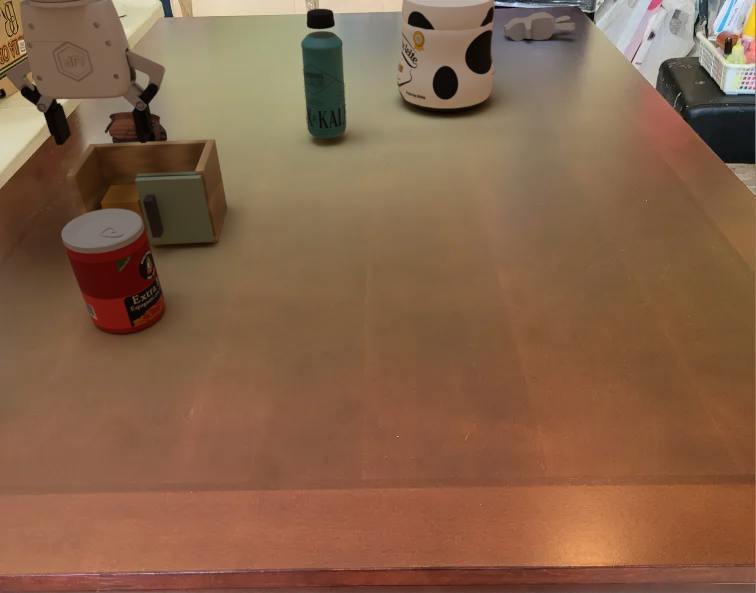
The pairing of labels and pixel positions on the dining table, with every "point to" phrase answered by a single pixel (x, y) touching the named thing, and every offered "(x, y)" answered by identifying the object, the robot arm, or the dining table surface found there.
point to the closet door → (175, 209)
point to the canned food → (114, 269)
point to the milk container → (446, 53)
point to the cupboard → (148, 172)
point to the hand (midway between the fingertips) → (104, 139)
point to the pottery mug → (132, 128)
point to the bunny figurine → (536, 26)
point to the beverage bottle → (323, 77)
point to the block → (124, 200)
